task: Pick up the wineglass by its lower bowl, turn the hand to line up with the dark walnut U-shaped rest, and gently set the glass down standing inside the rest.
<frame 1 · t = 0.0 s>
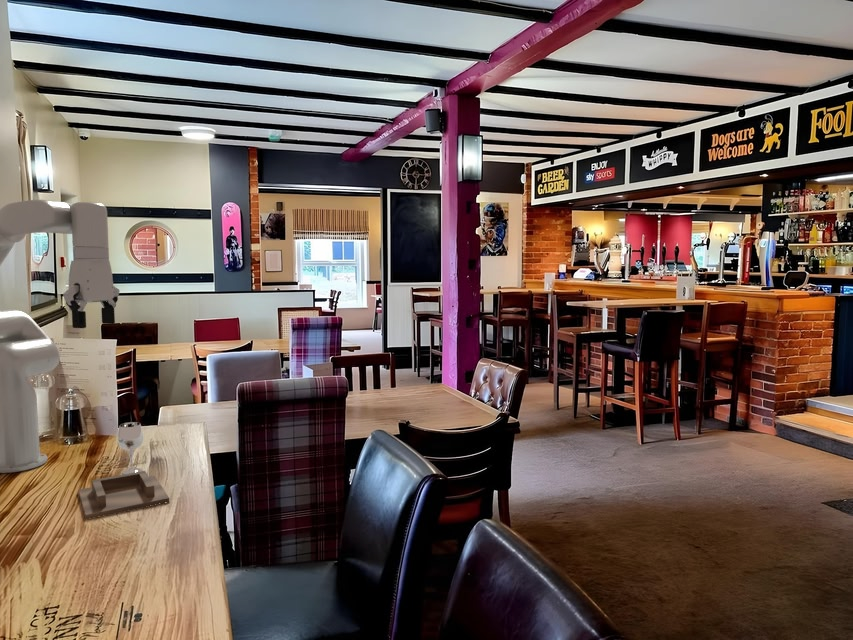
hand: (94, 325, 145), 37 cm above the table, tool pointing down, fingers open, 9 cm apart
wineglass: (131, 472, 149), on the table
u rest: (123, 497, 133), on the table
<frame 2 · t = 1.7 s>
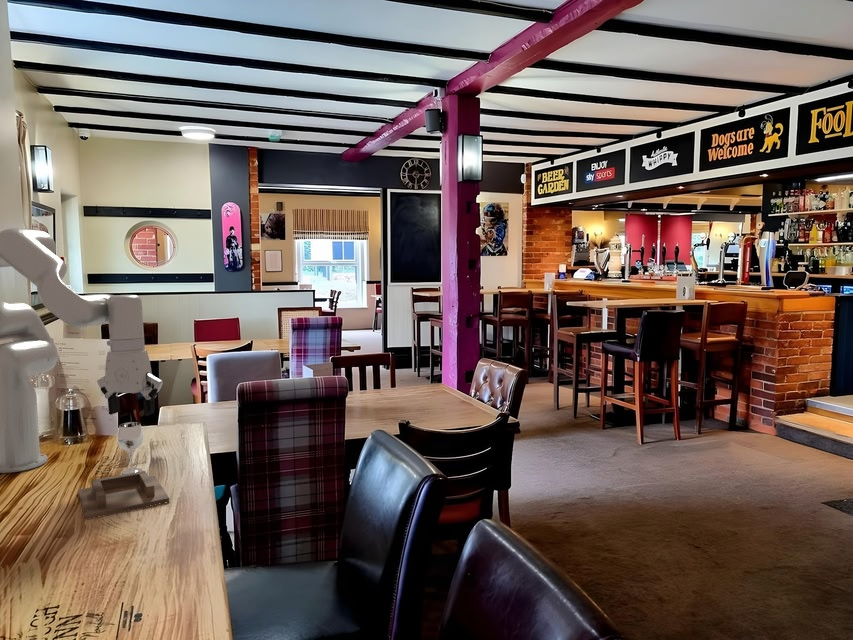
hand: (131, 413, 147), 15 cm above the table, tool pointing down, fingers open, 9 cm apart
nothing on the table moved.
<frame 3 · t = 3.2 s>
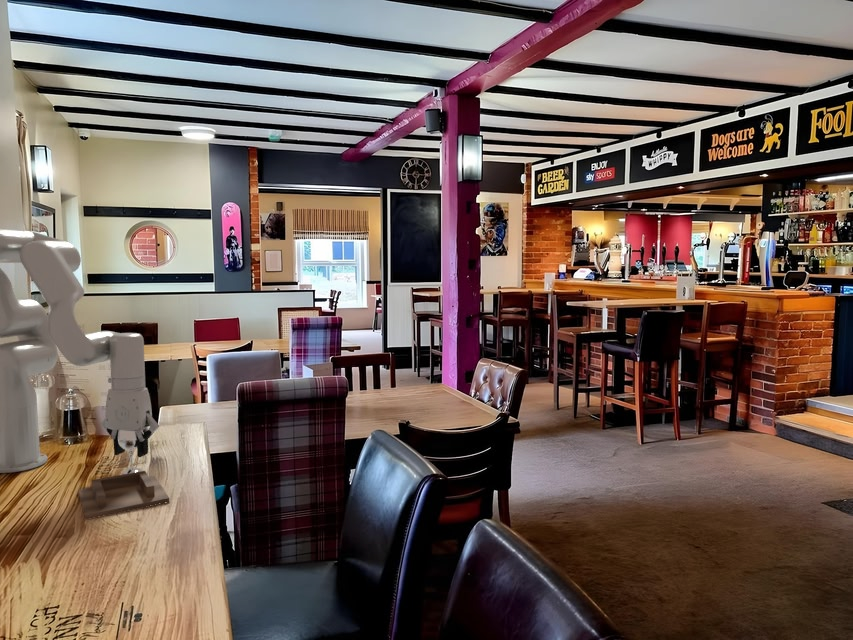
hand: (131, 453, 149), 5 cm above the table, tool pointing down, fingers closed on wineglass, 5 cm apart
wineglass: (131, 472, 149), on the table, touching gripper
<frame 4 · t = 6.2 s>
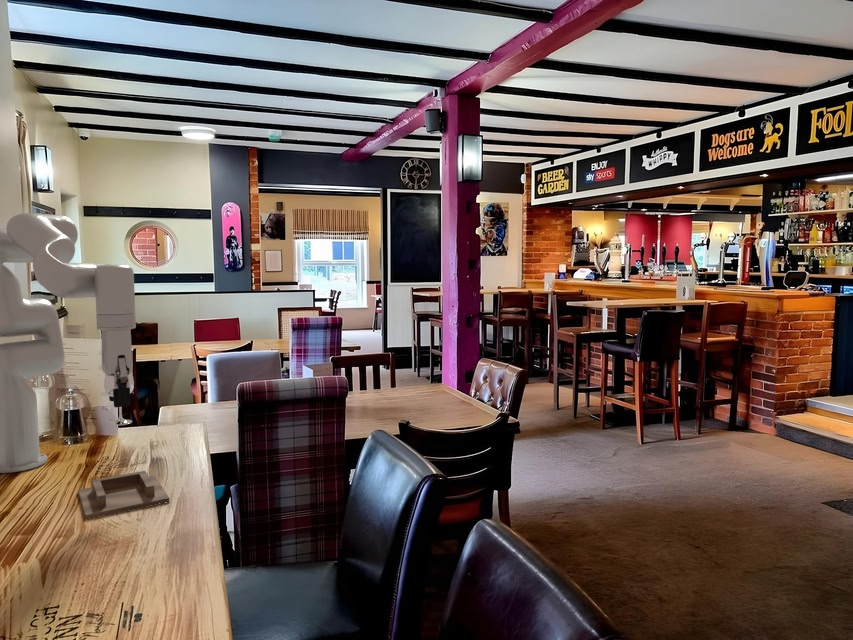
hand: (119, 402, 131), 22 cm above the table, tool pointing down, fingers closed on wineglass, 5 cm apart
wineglass: (120, 423, 132), point 17 cm above the table, touching gripper
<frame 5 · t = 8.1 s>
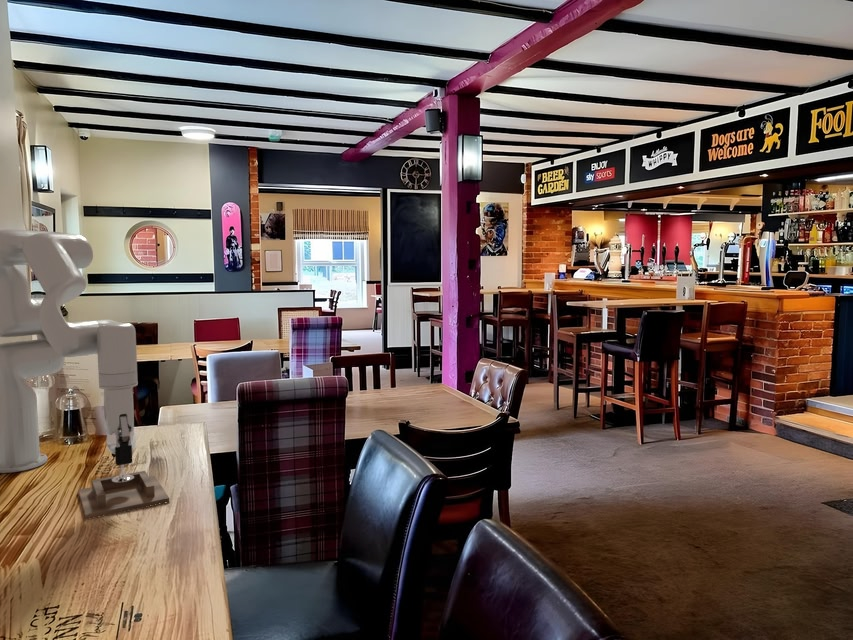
hand: (121, 458, 132), 9 cm above the table, tool pointing down, fingers closed on wineglass, 5 cm apart
wineglass: (123, 479, 132), point 4 cm above the table, touching gripper
when the fingers open (7 cm above the table, at t = 9.4 s): wineglass drops 1 cm, resting on u rest.
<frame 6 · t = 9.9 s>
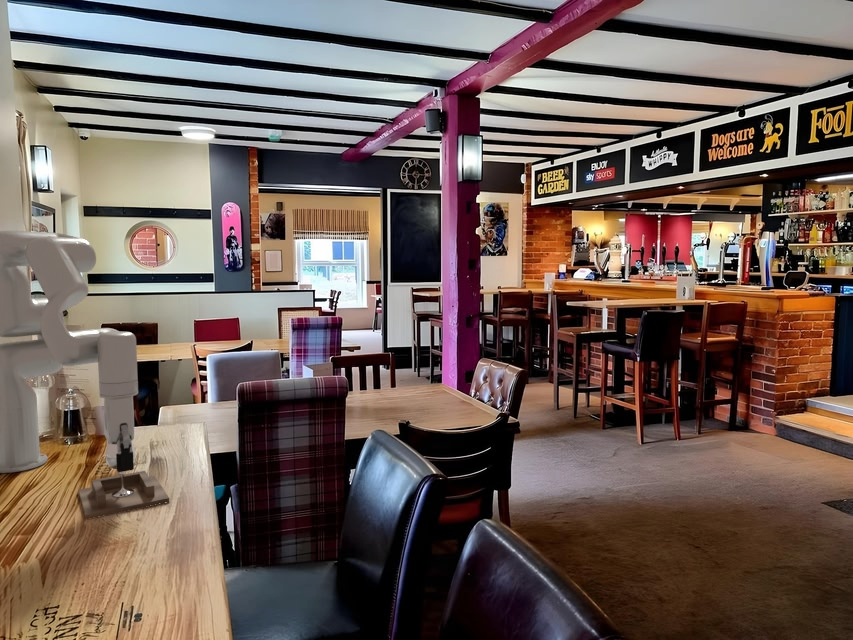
hand: (121, 464, 132), 8 cm above the table, tool pointing down, fingers open, 9 cm apart
wineglass: (123, 494, 133), point 1 cm above the table, touching u rest
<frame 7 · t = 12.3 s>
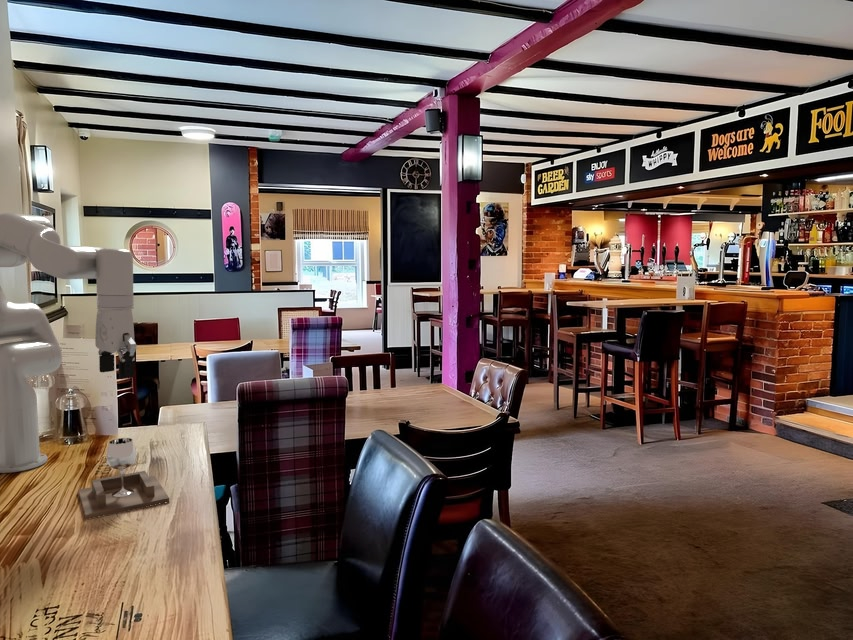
hand: (116, 374, 140), 26 cm above the table, tool pointing down, fingers open, 9 cm apart
nothing on the table moved.
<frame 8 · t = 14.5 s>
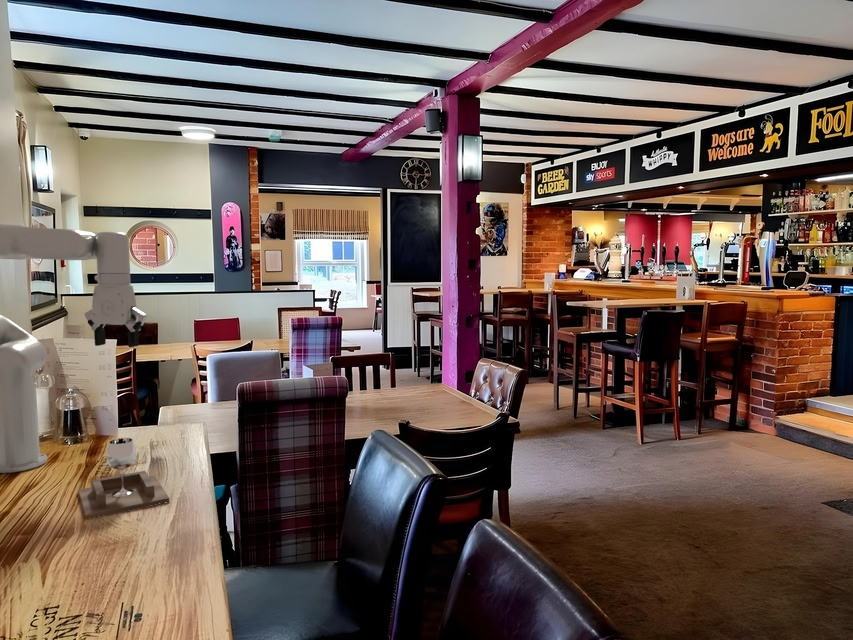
hand: (116, 345, 155), 30 cm above the table, tool pointing down, fingers open, 9 cm apart
nothing on the table moved.
at the end: wineglass 0.1 cm off-centre on the u rest, point 0.8 cm above the u rest's base; wineglass tilted 0°; the gripper is holding nothing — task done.
